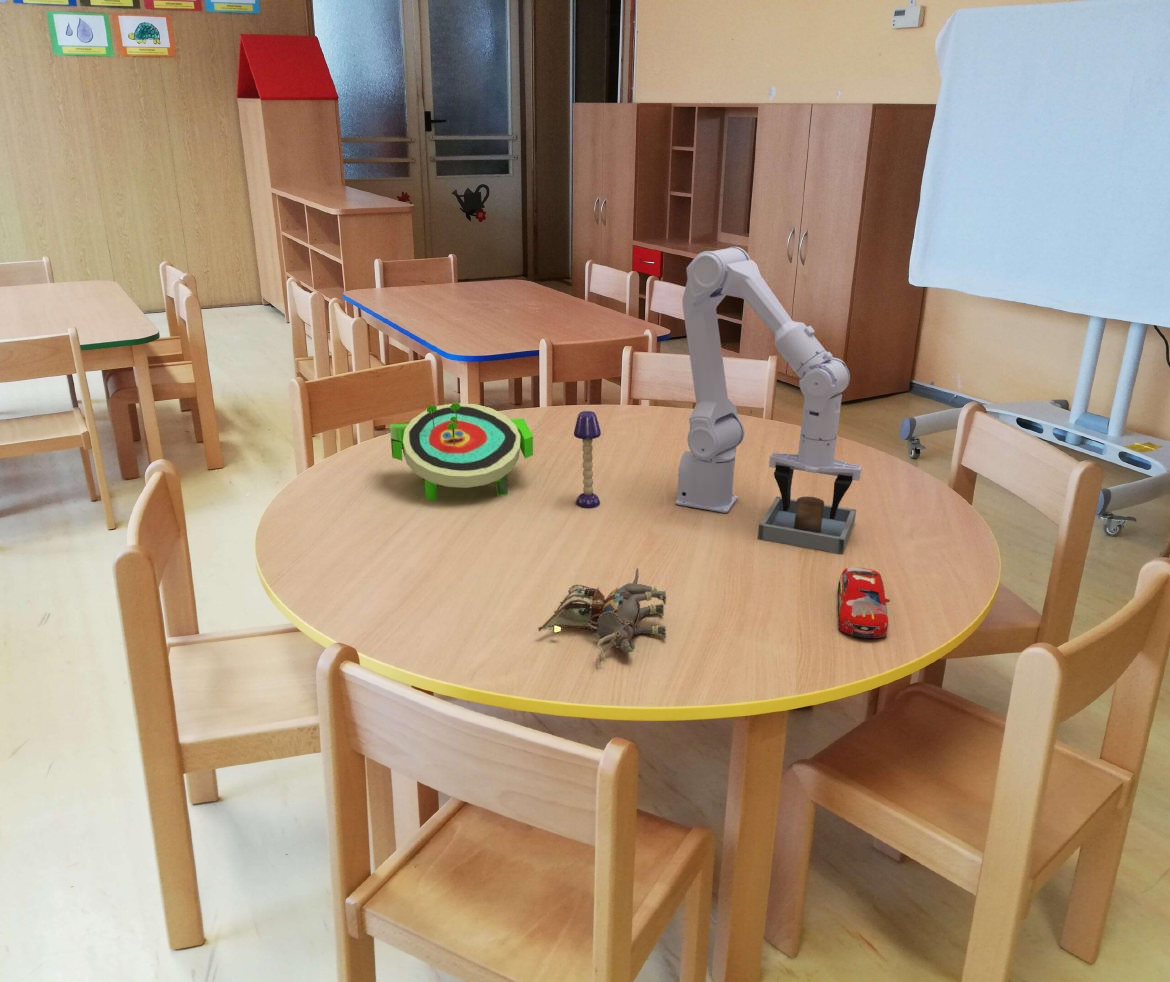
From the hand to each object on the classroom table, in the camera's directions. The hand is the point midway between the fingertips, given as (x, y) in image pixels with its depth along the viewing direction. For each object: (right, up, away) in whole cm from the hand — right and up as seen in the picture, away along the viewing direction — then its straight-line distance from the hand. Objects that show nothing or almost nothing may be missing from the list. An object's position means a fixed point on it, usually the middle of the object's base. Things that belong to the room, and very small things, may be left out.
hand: (809, 513), depth 155 cm
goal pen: (0, -3, +1) cm, 3 cm away
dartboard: (-59, +4, +16) cm, 62 cm away
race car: (+1, -14, -24) cm, 28 cm away
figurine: (-35, -15, -30) cm, 49 cm away
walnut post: (0, -3, +1) cm, 3 cm away
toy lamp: (-37, +1, +10) cm, 38 cm away
